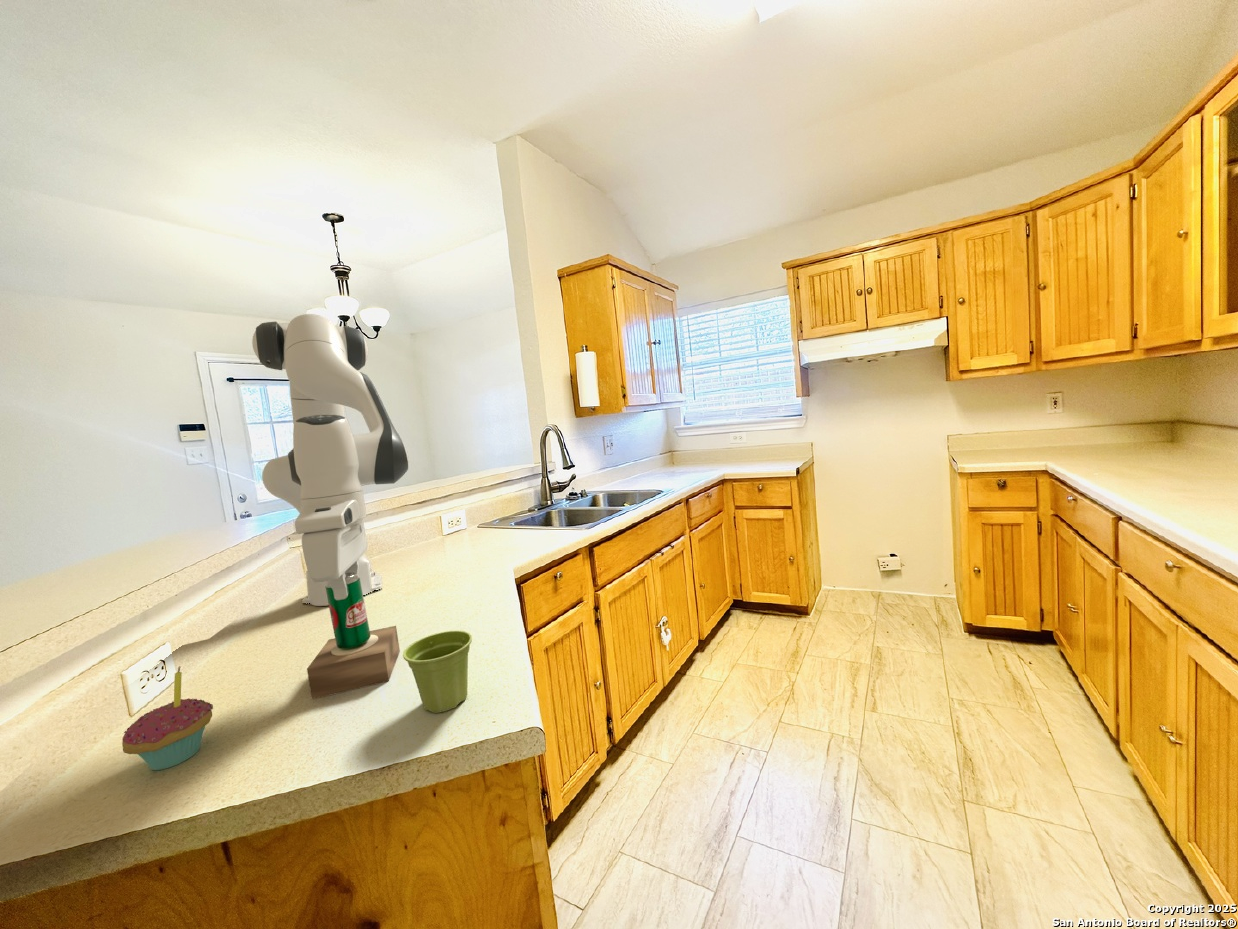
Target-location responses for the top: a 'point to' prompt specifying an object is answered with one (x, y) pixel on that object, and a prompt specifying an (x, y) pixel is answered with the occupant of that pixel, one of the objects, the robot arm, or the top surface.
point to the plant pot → (440, 668)
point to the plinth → (354, 664)
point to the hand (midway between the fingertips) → (347, 592)
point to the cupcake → (169, 731)
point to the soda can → (349, 615)
